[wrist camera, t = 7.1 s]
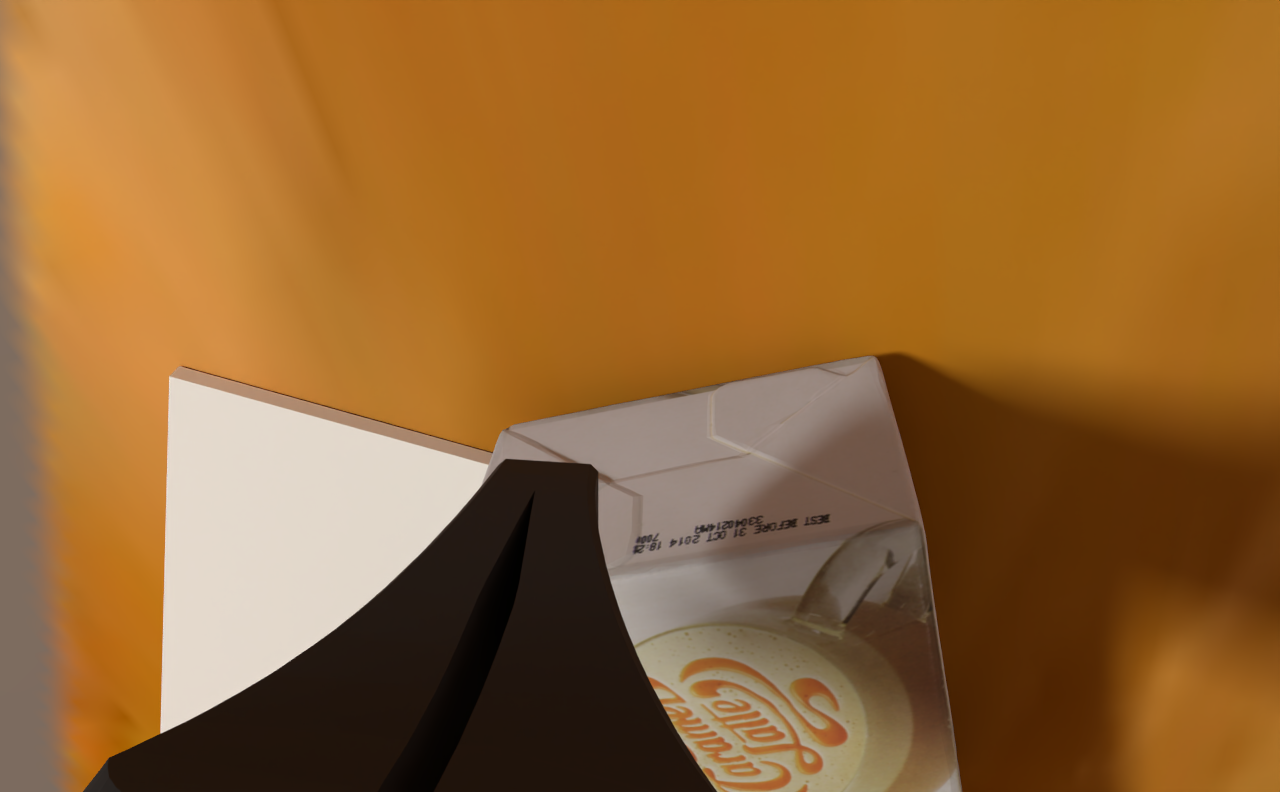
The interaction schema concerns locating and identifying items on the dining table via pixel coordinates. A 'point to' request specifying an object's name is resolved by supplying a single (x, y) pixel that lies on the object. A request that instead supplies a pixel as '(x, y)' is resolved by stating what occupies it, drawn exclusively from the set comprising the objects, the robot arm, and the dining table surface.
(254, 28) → the dining table surface
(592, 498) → the robot arm
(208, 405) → the mat
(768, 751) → the coffee box
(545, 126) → the dining table surface
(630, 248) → the dining table surface
